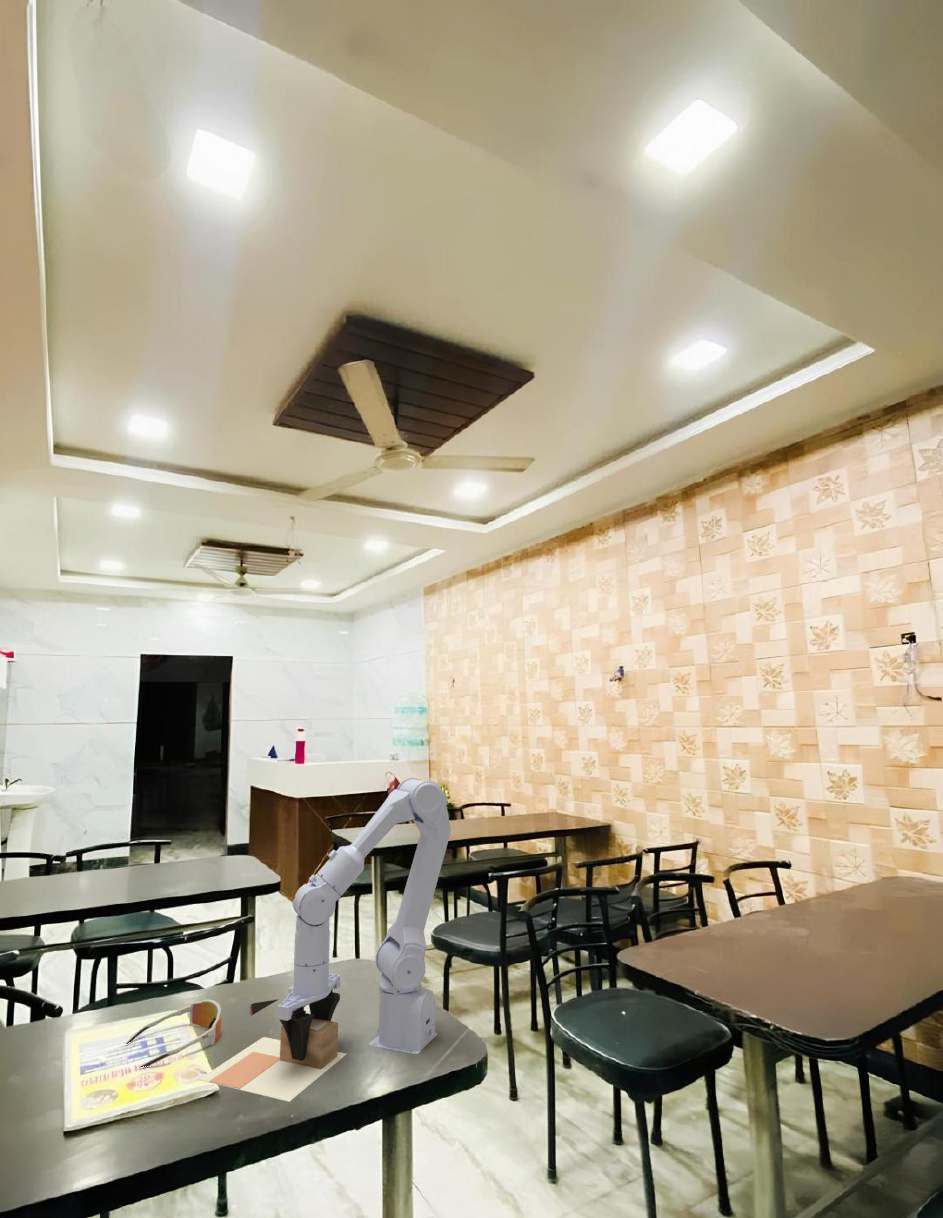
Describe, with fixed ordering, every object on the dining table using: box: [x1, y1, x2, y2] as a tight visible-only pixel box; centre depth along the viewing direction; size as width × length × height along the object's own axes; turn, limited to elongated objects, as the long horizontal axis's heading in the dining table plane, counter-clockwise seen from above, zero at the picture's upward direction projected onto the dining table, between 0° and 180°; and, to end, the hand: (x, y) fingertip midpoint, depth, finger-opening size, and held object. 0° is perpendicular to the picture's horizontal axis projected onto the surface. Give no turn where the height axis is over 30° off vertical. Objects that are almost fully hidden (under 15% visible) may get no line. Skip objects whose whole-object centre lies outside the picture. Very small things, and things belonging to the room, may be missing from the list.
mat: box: [197, 1036, 347, 1103], centre depth 103 cm, size 17×15×1 cm
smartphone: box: [250, 998, 279, 1016], centre depth 122 cm, size 7×1×15 cm
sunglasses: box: [124, 999, 222, 1068], centre depth 113 cm, size 14×15×5 cm
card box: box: [280, 1018, 339, 1069], centre depth 106 cm, size 8×4×5 cm, turn 68°
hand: (308, 1050), depth 106 cm, fingers open, 5 cm apart
